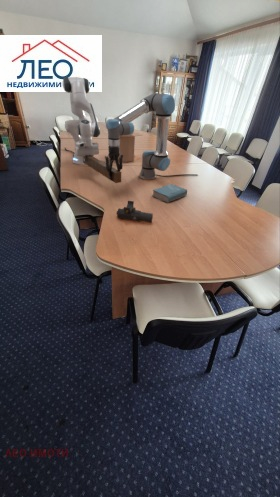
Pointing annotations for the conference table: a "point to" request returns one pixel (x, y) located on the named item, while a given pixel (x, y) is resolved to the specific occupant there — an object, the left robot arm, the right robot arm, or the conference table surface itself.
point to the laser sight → (133, 213)
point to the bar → (102, 168)
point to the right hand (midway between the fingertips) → (114, 179)
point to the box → (127, 146)
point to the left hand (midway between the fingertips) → (88, 160)
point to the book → (169, 193)
